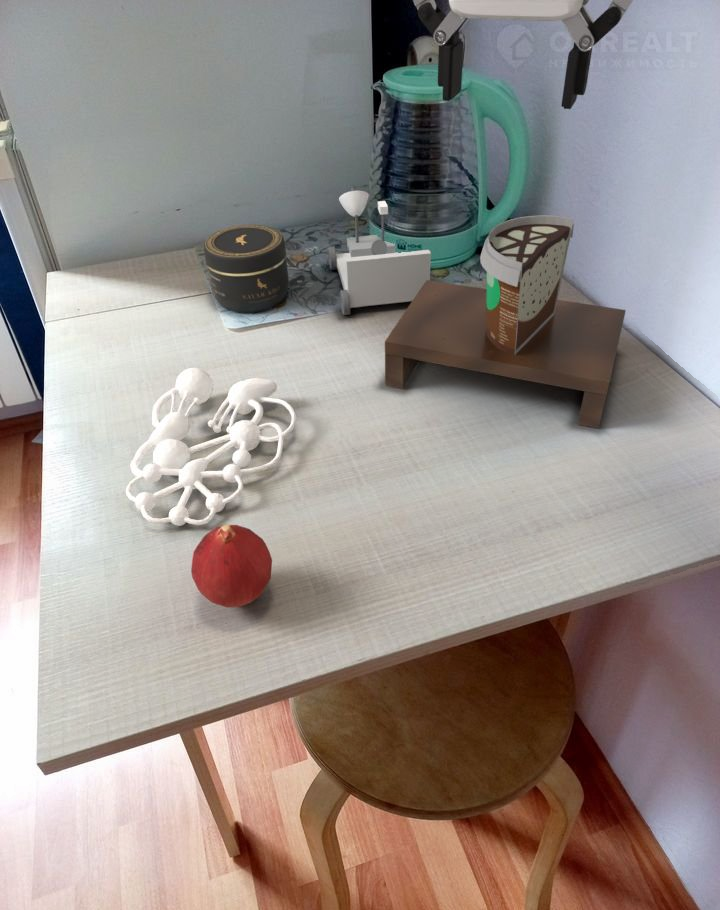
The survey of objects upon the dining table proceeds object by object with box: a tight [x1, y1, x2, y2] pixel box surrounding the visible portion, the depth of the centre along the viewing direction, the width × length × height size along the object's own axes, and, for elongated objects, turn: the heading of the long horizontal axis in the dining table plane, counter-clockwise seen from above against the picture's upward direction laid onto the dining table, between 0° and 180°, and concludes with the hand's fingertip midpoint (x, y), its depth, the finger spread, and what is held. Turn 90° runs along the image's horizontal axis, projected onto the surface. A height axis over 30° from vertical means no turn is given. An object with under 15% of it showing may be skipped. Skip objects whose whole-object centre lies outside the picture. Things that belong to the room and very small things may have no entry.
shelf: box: [384, 279, 626, 429], centre depth 75 cm, size 22×14×6 cm, turn 68°
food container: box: [479, 215, 575, 355], centre depth 70 cm, size 12×6×10 cm, turn 144°
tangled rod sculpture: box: [125, 367, 297, 527], centre depth 66 cm, size 19×14×4 cm
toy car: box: [327, 186, 432, 316], centre depth 90 cm, size 18×10×12 cm
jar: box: [203, 224, 289, 314], centre depth 88 cm, size 10×10×8 cm
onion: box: [190, 524, 273, 608], centre depth 52 cm, size 6×6×8 cm
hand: (508, 100), depth 57 cm, fingers open, 9 cm apart
